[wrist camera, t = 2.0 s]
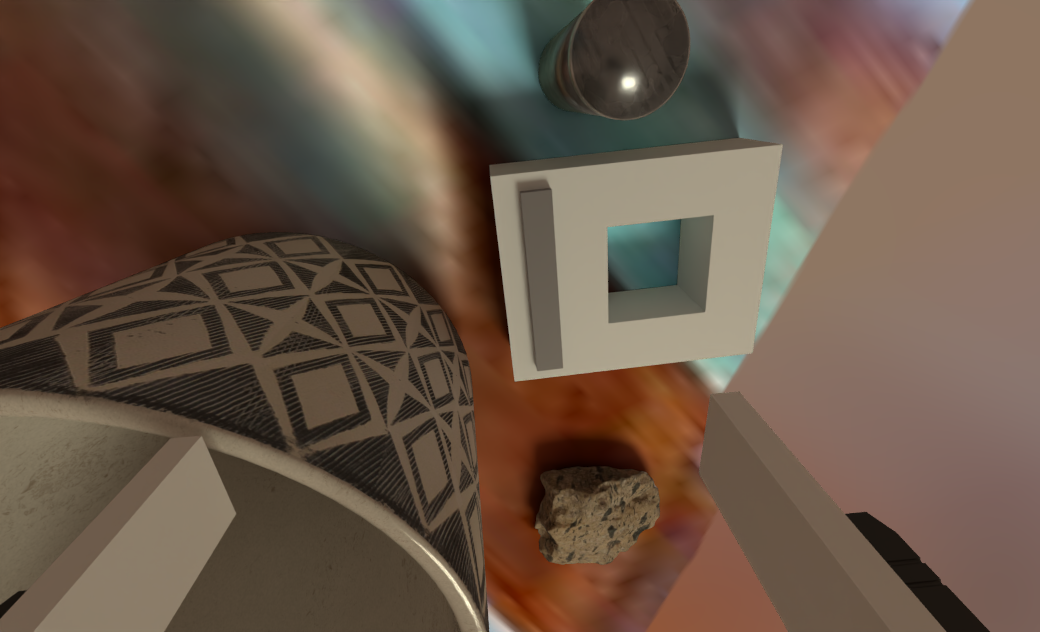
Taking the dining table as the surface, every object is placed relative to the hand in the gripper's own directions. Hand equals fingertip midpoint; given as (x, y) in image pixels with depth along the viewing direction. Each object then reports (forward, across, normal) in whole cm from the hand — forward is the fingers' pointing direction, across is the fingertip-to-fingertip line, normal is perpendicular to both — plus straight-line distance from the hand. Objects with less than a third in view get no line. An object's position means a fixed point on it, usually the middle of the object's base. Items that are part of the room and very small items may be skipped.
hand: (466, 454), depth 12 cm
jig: (+23, +9, -2) cm, 25 cm away
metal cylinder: (+22, +7, +10) cm, 26 cm away
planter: (+23, -13, -10) cm, 28 cm away
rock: (+23, +8, -27) cm, 37 cm away
